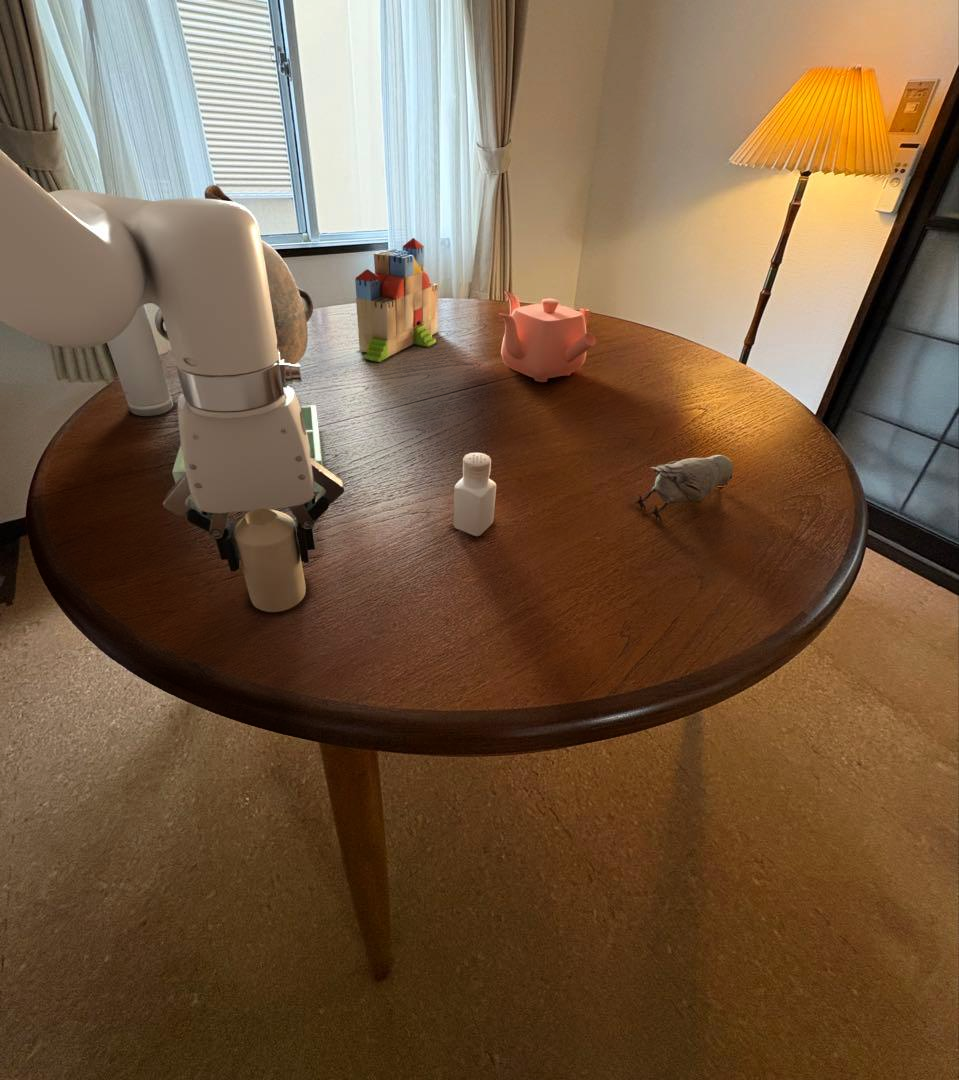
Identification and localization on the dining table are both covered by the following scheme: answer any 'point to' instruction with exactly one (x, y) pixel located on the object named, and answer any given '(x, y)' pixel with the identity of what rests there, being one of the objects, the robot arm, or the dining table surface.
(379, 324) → the block set
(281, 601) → the candle
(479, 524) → the salt shaker
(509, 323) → the teapot
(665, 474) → the decorative bird
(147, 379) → the travel mug
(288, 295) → the jug
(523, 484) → the dining table surface
